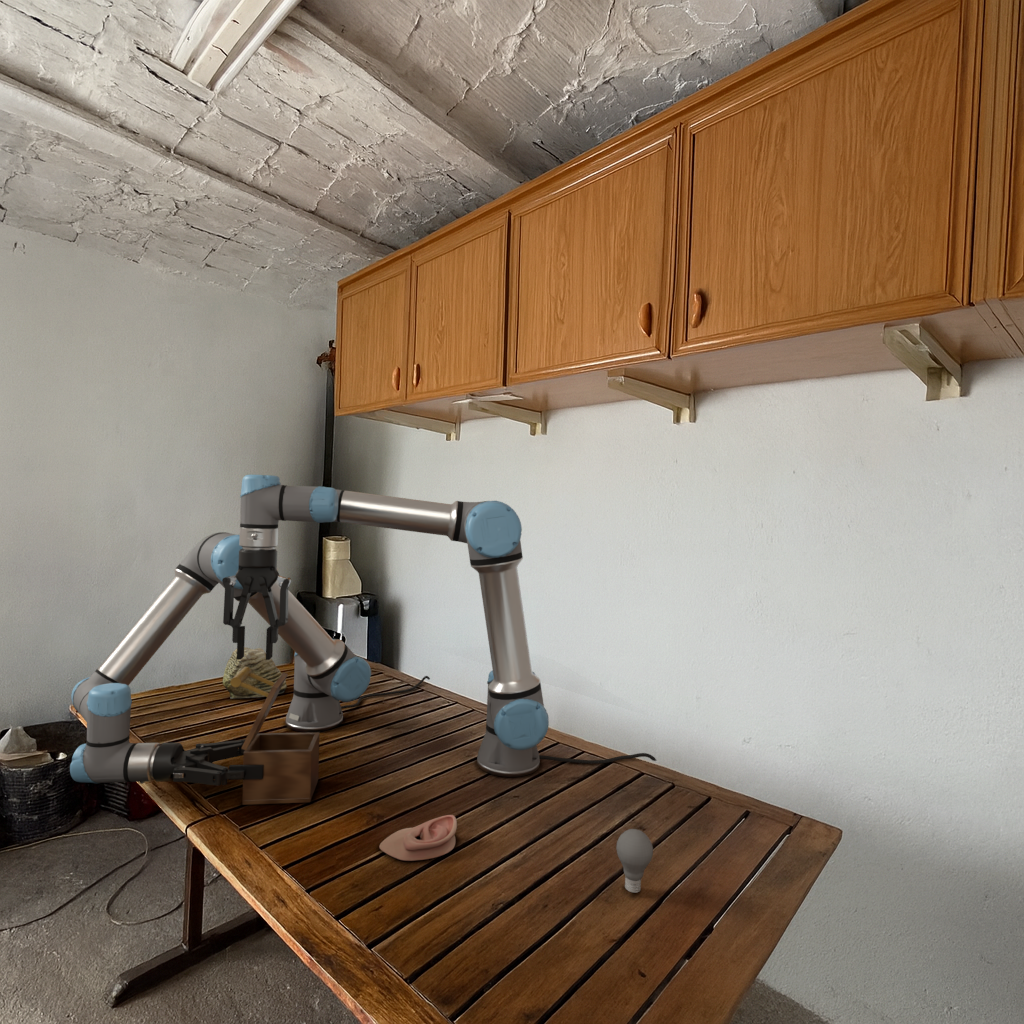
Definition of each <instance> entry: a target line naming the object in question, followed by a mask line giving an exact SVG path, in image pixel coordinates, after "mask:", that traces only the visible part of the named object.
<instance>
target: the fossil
mask: <svg viewBox="0 0 1024 1024" xmlns="http://www.w3.org/2000/svg"><path fill="white" fill-rule="evenodd" d="M244 667H248V668H250V669H251V673H253V674H256V675H258V676H260V677H263V678H265V679H267V680H269V681H272V682H274V683H276V681H277V680H278V679H279V678H280V676H281V675H282V674H283V672H281V669H279V668H278V667H277V665H276V663H275V662H274V660H273V659H272V658H271V659H270V660H266V651H265V650H264V649H263V648H260V647H258V648H251V647H247V646H246V647H245V646H244V657H243V658H242V659H241V660H237V648H236V649H235V650H233V651H232V653H231V656H230V657H229V659H228V660H227V663H226V666H225V668H224V671H223V675H222V676H223V677H222V685H223V687H224V688H225V690H226V691H228V693H229V698H230V699H250V698H264V697H265V696H263V695H261V694H258V693H256V692H254V691H251V690H249V689H247V688H244V687H242V686H239V687H233V686H232V685H231V679H232V678H233V677H234V676H235V675H236V674H238V673H239V672H240V671H241V670H242V669H243V668H244ZM244 683H247V684H249V685H251V686H254V687H256V688H258V689H261V690H263V691H265V692H268V693H270V691H271V689H272V687H273V686H271V685H268V684H266V683H264V682H261V681H259V680H257V679H254V678H252V677H250V676H249V677H248V678H247V679H246V680H245V681H244ZM287 687H288V686H287V680H286V679H285V681H284V683H283V685H282V687H281V689H280V691H279V693H278V695H281V694H284V693H285V691H286V689H287Z"/></svg>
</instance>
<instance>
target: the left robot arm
mask: <svg viewBox="0 0 1024 1024" xmlns="http://www.w3.org/2000/svg"><path fill="white" fill-rule="evenodd" d="M239 538H240V534H235V533H231V532H227V531H226V532H224V531H222V532H221V531H219V532H214V533H211V534H208V535H206V536H204V537H203V538H201V540H200V541H198V542H197V543H196V544H195V545H194V547H192V548H191V550H190V551H189V552H188V553H187V554H186V555H185V556H184V558H183V559H182V560H181V561H180V562H179V564H178V565H176V567H175V569H174V576H173V578H172V579H171V580H170V581H169V583H168V584H167V585H166V586H165V587H164V589H163V590H162V591H161V592H160V593H159V594H158V596H157V597H156V598H155V599H154V600H153V602H152V603H151V604H150V605H149V607H148V608H147V609H146V610H145V611H144V613H143V614H142V615H141V616H140V617H139V618H138V620H137V621H135V623H134V624H133V626H132V627H131V628H130V629H129V631H127V633H126V634H125V635H124V636H123V638H121V640H120V641H119V642H118V643H117V645H116V646H115V647H114V648H113V649H112V650H111V652H110V653H109V654H108V655H107V657H106V658H104V660H103V661H102V663H100V664H99V666H98V667H97V668H96V670H94V672H93V673H92V674H91V675H90V676H88V677H85V678H83V679H81V680H80V681H79V682H77V683H76V684H75V685H74V687H73V688H72V691H71V695H70V698H71V699H70V700H71V702H72V706H73V708H74V710H75V711H77V713H78V714H79V715H80V716H81V717H82V718H83V720H84V721H85V722H86V743H82V744H80V745H79V746H77V748H76V749H75V751H74V752H73V755H72V757H71V763H70V764H69V773H70V777H71V778H72V780H73V781H75V782H77V783H89V784H90V783H91V784H97V785H98V784H105V783H106V784H107V783H139V784H141V785H142V784H143V785H144V784H145V782H146V783H147V782H149V783H151V782H153V781H155V782H156V783H159V782H160V783H165V782H166V783H167V782H168V783H169V782H173V783H192V784H200V785H208V786H215V787H216V786H217V787H219V786H227V785H228V782H229V781H237V780H238V781H239V780H241V781H243V780H249V779H263V769H264V765H243V764H230V765H229V766H224V765H220V764H216V763H214V762H218V761H224V760H229V759H233V758H237V757H244V751H245V750H243V749H241V748H242V746H243V744H244V742H245V740H246V738H243V739H237V740H236V739H235V740H227V741H219V742H218V741H217V742H210V743H196V744H195V748H192V749H188V750H185V748H184V746H183V744H182V743H180V742H163V743H160V742H130V735H131V733H130V732H131V714H132V704H133V700H132V690H131V687H130V684H131V683H132V682H133V681H134V680H135V678H136V677H137V676H138V675H139V673H140V672H141V671H142V670H143V669H144V667H145V666H146V665H147V664H148V662H149V661H150V660H151V659H152V657H153V656H154V655H155V654H156V652H157V651H158V650H159V649H160V648H161V646H163V644H164V643H165V641H166V640H167V639H168V638H169V637H170V635H171V634H172V633H173V632H174V630H176V628H177V627H178V626H179V624H180V623H181V622H182V621H183V619H185V617H186V615H188V614H189V612H190V611H191V610H192V608H193V607H194V606H195V605H196V604H197V602H198V601H199V600H200V599H201V597H202V596H203V595H206V594H210V593H212V591H213V590H214V588H215V587H216V586H217V585H219V584H220V586H222V587H223V588H224V585H223V582H222V579H223V578H225V577H227V576H233V575H236V573H237V571H238V566H239V550H240V549H242V547H241V546H240V545H239ZM277 571H278V572H279V569H278V567H277ZM271 589H272V596H273V600H274V604H275V608H276V613H277V617H278V620H280V589H281V587H279V582H278V581H276V582H275V583H274V584H273V586H272V587H271ZM242 590H243V587H242V586H241V584H240V583H239V581H238V580H236V584H235V585H234V600H235V601H236V602H239V601H240V598H241V593H242ZM248 605H249V606H251V607H252V608H253V609H254V610H255V612H257V614H258V615H259V616H260V617H261V618H262V619H263V620H264V621H265V622H266V623H267V624H268V625H269V626H270V622H269V618H268V614H267V609H266V605H265V601H264V598H263V596H262V593H258V592H253V593H251V595H250V598H249V601H248ZM278 636H280V638H281V639H282V640H283V641H284V642H285V643H286V644H287V646H289V647H290V648H291V650H293V651H294V655H293V657H294V672H293V695H292V696H293V697H292V699H291V702H290V704H289V708H288V711H287V713H286V715H285V726H286V728H287V729H289V730H291V731H294V732H295V731H296V732H300V733H310V732H325V731H329V730H332V729H335V728H337V727H339V726H340V725H342V723H343V722H344V714H343V710H344V709H352V708H356V707H358V706H359V705H360V703H361V701H362V700H364V699H367V698H371V697H382V696H388V695H396V694H403V693H408V692H411V691H414V690H415V689H417V688H418V687H419V686H420V685H421V684H423V682H424V681H425V680H426V679H427V680H429V681H430V680H431V678H430V676H428V675H424V676H423V678H421V680H420V681H419V682H417V683H416V684H415V685H414V686H412V687H409V688H407V689H401V690H393V691H387V692H377V693H370V694H365V695H363V694H364V693H365V692H366V690H367V689H368V687H369V685H370V682H371V676H372V668H371V666H370V664H369V662H368V661H367V660H365V658H363V657H362V656H357V655H356V654H355V653H354V652H353V651H352V650H351V649H350V647H348V645H347V644H346V643H345V642H344V641H343V640H342V639H338V638H332V637H331V636H330V634H328V632H327V631H326V630H325V629H324V628H323V626H321V624H319V622H318V621H317V620H316V619H315V618H314V617H313V616H312V614H311V613H310V612H309V611H308V610H307V609H306V607H304V605H303V604H302V603H301V602H300V601H299V600H298V599H297V598H296V596H295V595H293V593H292V592H291V591H290V590H289V589H288V622H287V623H286V624H285V625H283V626H279V628H278ZM362 695H363V696H362ZM357 699H358V700H357ZM356 700H357V702H356V703H353V704H346V705H341V702H343V703H350V702H353V701H356ZM228 780H229V781H228Z"/></svg>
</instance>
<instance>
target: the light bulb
mask: <svg viewBox="0 0 1024 1024" xmlns="http://www.w3.org/2000/svg"><path fill="white" fill-rule="evenodd" d="M615 849H616V854H617V857H618V859H619V861H620V863H621V865H622V867H623V873H624V874H623V875H624V876H625V878H624V888H625V890H627V891H628V892H630V893H634V894H635V893H639V892H640V891H641V889H642V887H641V886H642V879H643V877H644V875H645V871H646V868H647V867H648V866H649V864H650V863H651V861H652V859H653V855H654V847H653V843H652V841H651V838H649V836H648V835H647V834H646V833H645V832H643V831H642V830H641V829H636V828H629V829H627V830H625V831H623V832H622V833H621V834H620V835H619V837H618V839H617V841H616V847H615Z"/></svg>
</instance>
